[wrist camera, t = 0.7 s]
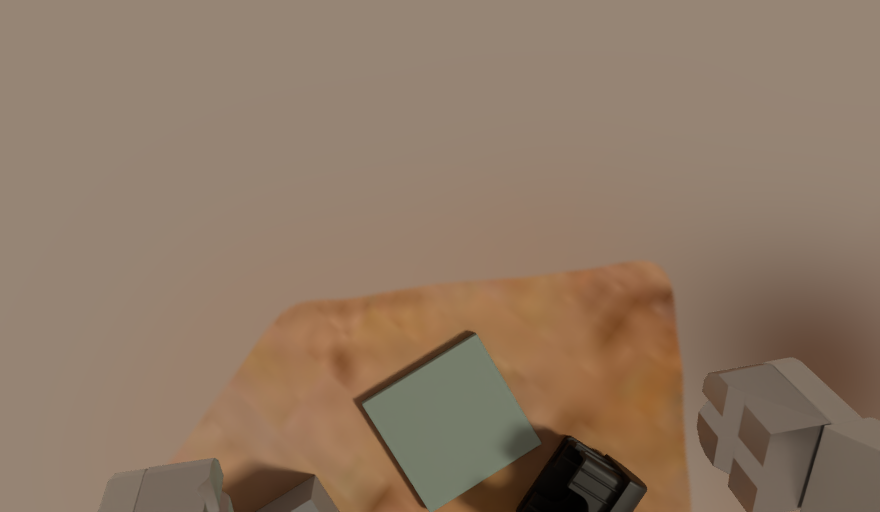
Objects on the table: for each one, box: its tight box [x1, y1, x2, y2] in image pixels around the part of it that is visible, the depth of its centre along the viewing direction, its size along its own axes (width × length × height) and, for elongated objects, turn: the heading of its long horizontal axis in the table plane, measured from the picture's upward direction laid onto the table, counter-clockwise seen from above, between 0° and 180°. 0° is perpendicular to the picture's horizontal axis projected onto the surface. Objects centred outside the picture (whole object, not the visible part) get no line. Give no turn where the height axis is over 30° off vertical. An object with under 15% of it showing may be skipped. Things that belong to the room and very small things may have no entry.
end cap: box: [516, 436, 647, 512], centre depth 60 cm, size 10×7×7 cm
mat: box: [362, 333, 542, 512], centre depth 61 cm, size 12×12×1 cm
